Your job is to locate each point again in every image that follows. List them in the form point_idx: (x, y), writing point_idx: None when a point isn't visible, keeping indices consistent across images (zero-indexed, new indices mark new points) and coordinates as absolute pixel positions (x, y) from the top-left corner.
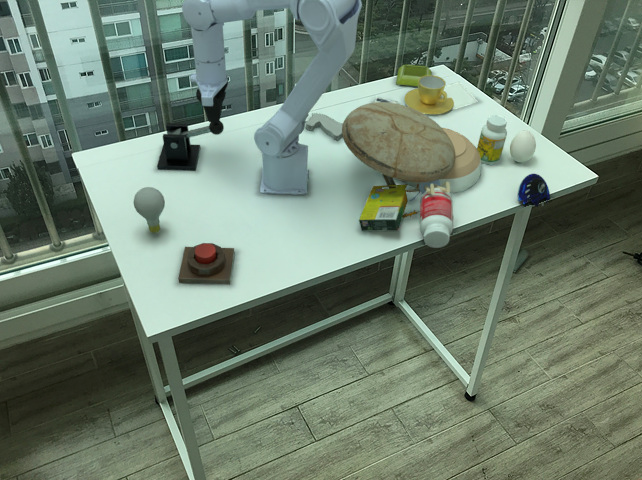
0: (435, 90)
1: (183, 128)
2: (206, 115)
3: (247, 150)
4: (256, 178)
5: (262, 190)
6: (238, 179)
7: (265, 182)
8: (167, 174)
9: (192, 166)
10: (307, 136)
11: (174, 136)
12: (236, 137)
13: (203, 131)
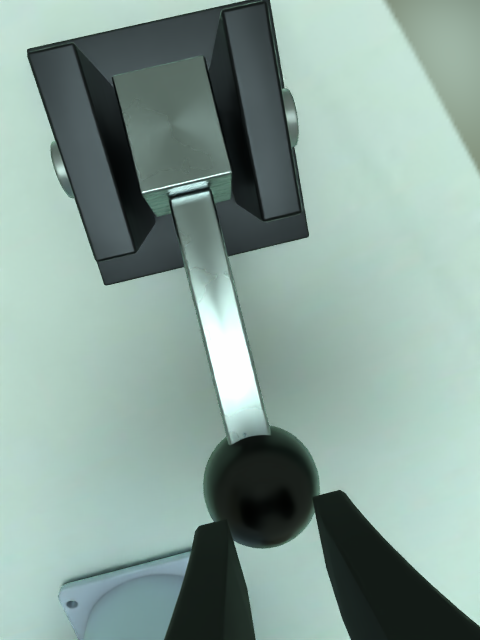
0: None
1: (251, 188)
2: (185, 583)
3: (336, 444)
4: (153, 538)
5: (68, 596)
6: (120, 480)
7: (97, 615)
8: (19, 137)
9: (103, 270)
10: (469, 605)
11: (76, 172)
12: (427, 367)
13: (215, 386)
